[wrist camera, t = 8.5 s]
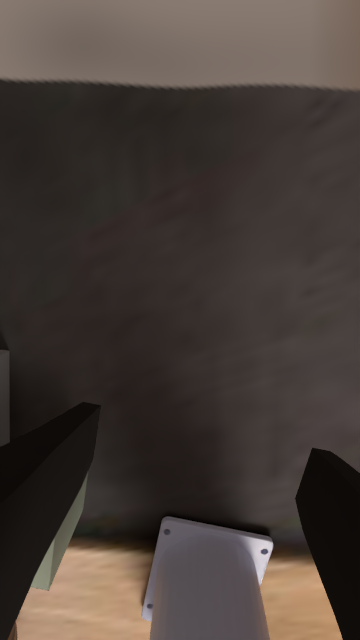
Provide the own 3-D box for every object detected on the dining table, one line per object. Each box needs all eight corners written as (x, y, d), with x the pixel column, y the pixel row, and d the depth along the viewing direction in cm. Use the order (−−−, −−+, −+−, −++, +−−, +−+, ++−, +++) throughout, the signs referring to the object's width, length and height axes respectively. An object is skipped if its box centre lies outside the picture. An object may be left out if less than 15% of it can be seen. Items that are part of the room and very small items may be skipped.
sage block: (83, 509, 23) (48, 590, 17) (22, 497, 23) (-32, 575, 17) (90, 456, 22) (56, 525, 16) (26, 444, 22) (-29, 509, 16)
